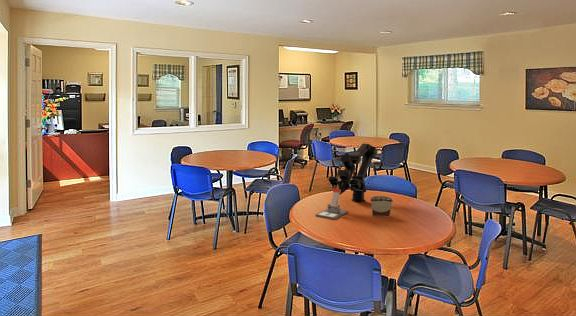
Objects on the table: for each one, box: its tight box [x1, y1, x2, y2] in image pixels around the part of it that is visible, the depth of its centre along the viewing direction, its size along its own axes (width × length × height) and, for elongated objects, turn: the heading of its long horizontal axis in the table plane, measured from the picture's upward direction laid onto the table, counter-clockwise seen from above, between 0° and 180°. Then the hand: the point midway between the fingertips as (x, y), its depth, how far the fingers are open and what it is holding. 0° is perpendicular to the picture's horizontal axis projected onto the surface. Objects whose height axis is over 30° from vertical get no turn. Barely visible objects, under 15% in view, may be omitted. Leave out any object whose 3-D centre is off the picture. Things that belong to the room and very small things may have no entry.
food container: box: [369, 195, 394, 217], centre depth 235 cm, size 12×6×10 cm, turn 84°
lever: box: [330, 187, 341, 209], centre depth 239 cm, size 2×4×11 cm, turn 58°
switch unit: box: [315, 203, 349, 221], centre depth 236 cm, size 16×12×5 cm
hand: (339, 194), depth 243 cm, fingers closed
